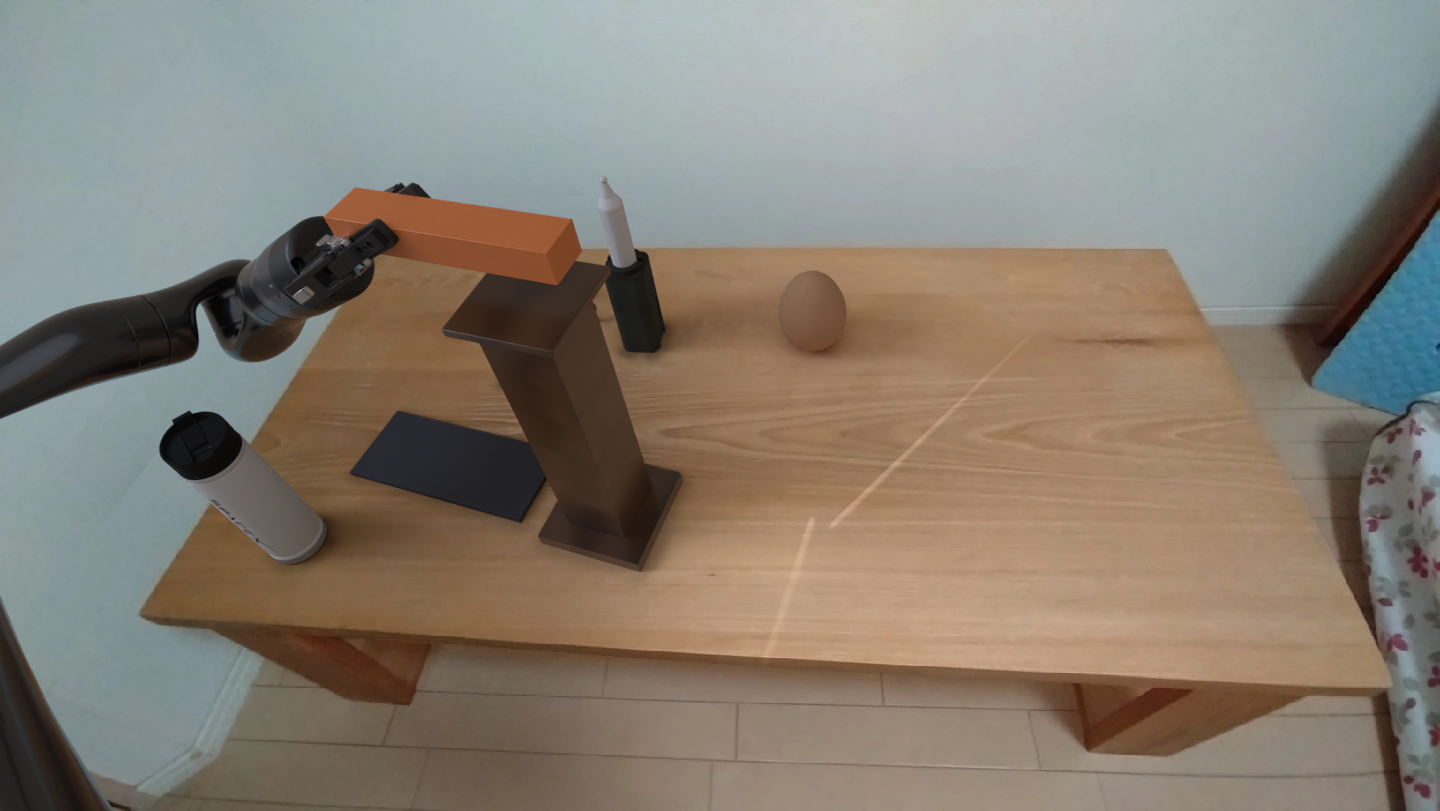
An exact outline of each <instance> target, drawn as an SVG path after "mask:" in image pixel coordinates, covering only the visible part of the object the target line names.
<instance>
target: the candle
mask: <svg viewBox="0 0 1440 811" xmlns="http://www.w3.org/2000/svg"><path fill="white" fill-rule="evenodd" d="M599 182H600V194H599V196H598V197H599V198H598V199H597V202H596V208H597V211H598V215H599V219H600V223H601V227H602V230H603V234H604V237H605V240H606V245H607V248H608V252H609V255H608V256H606V259H607V260H605V264H604V265H605V266H609V268H610V272H611V274H610V275H609V277H608V278H607V280H606V281H605V283H604V285H605V287H606V292H607V294H608V299H609V301H610V305H611V307H612V311H613V314H614V318H615V322H616V325H617V328H618V332H619V335H620V338H621V342H622V345H623V349H624V350H625V351H626V352H631V353H656V352H658V351H659V350H660V349H661V347H662V340H663V337H664V333H666V326H665V322H664V317H663V313H662V310H661V309H662V308H661V305H660V300H659V295H658V290H657V288H656V283H655V279H654V278H655V277H654V273H653V269H652V264H651V260H650V257H649V254H648V253H647V252H646V251H643V250H639V249H637V248H635V247H634V243H633V238H632V235H631V231H630V227H629V223H628V218H627V214H626V210H625V206H624V202H623V198H622V197H621V196H620V195H618V194H617V193H616V192H614V190H613V188H612V187H611V185H610V184H609V183H608V178H607V176H605V175H601V176H600V177H599Z"/></svg>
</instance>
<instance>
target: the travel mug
mask: <svg viewBox="0 0 1440 811" xmlns="http://www.w3.org/2000/svg"><path fill="white" fill-rule="evenodd" d="M171 421H172V425H170V426H169V428H168V429H167V430H166V431H165V432H164V433H163V435H162V437H161V439H160V441H159V446H158V452H159V456H160V458H161V459H162V461H163V462H164V463H165V464H167V465H168V466H169V467H170V468H171V469H173V470H174V471H175V472H176V473H177V475H179V476H180V477H181V478H182V479H183V480H184V481H185V482H186V483H187V484H188V485H190V486H191V488H193V489H194V490H195V491H196V492H198V493H199V495H200V496H202V497H203V498H204V499H205V500H206V501H207V502H209V503H210V504H211V505H212V506H213V507H215V508H216V509H217V510H218V511H219V512H220V513H221V514H223V515H224V516H225V517H226V518H227V519H228V520H229V521H230V522H232V523H233V524H234V525H235V526H236V527H237V528H238V529H240V531H242V532H243V533H244V534H245V535H246V536H247V537H248V538H250V539H251V540H252V541H253V542H254V543H255V544H257V545H258V546H259V547H260V548H261V549H262V550H263V551H265V552H266V553H267V554H268V555H269V556H270V557H271V558H272V559H273V560H275V561H276V562H277V563H279V564H282V565H295V564H299V563H302V562H305V561H306V560H308V559H309V558H311V557H312V556H313V555H315V554H316V553H317V552H318V551H319V550H320V549H321V548H322V547H323V545H324V542H325V540H326V537H327V533H328V528H327V524H326V522H325V521H324V520H323V519H322V518H321V517H320V515H318V514H317V513H316V512H315V511H314V509H313V508H312V507H311V506H310V504H308V503H307V502H306V501H305V500H304V499H303V498H302V497H301V496H300V494H298V493H297V492H296V491H295V490H294V488H293V487H291V485H289V483H288V482H287V481H286V480H285V478H283V477H282V476H281V475H280V474H279V473H278V472H277V471H276V470H275V469H274V468H273V467H272V466H271V465H270V464H269V463H268V461H267V460H266V459H264V457H263V456H262V455H261V454H260V453H259V452H258V451H257V450H256V449H255V448H254V447H253V446H252V445H251V444H250V442H248V441H247V440H246V439H245V438H244V437H243V436H242V435H241V433H239V432H238V431H237V430H235V428H234V427H233V426H232V425H231V424H230V423H229V422H228V421H227V420H226V418H224V416H222V415H221V414H220V413H217V412H214V411H209V410H208V411H207V410H206V411H196V412H194V413H193V412H192V411H191V410H186V411H185V412H183V413H182V414H180V415H178V416H176V417H174V418H173V419H171Z"/></svg>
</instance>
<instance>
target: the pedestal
mask: <svg viewBox="0 0 1440 811" xmlns="http://www.w3.org/2000/svg"><path fill="white" fill-rule="evenodd" d="M610 274H611V272H610V268H609V266H605V264H599V263H592V262H587V261H580V260H576V261H575V262H574V263H573V265H572V266H571V268H570V269H569V270H568V272H567V273H566V275H565V276H564V277H563V279H562V280H561V282H560V283H559V284H558V285H552V284H546V283H541V282H535V281H529V280H524V279H518V278H512V277H507V276H501V275H496V274H490V273H485V274H484V275H483V277H482V278H481V279H480V281H479V282H478V283H477V284H476V285H475V286H474V288H473V289H472V290H471V292H470V293H468V295H467V297H466V298H464V301H463V302H462V303H461V304H460V305H459V306H458V308H457V309H456V310H455V312H454V313H453V314H452V315H451V316H450V318H449V319H448V320H447V322H446V323H445V324H444V325H443V326H442V328H441V332H442V333H443V335H444V337H446V338H451V339H457V340H461V341H466V342H470V343H475V344H479V346H480V347H481V350H482V352H483V354H484V356H485V358H486V360H487V362H488V364H489V366H490V368H491V371H492V372H493V375H494V376H495V377H496V380H497V382H498V384H499V386H500V388H501V390H502V392H503V394H504V396H505V398H506V400H507V402H508V404H509V406H510V408H511V410H512V412H513V414H514V416H515V418H516V420H517V422H518V425H519V426H520V428H521V430H522V432H523V434H524V436H525V438H526V440H527V443H529V444H530V446H531V448H532V450H533V452H534V454H535V456H536V458H537V460H538V462H539V464H540V466H541V468H542V470H543V472H544V474H545V476H546V478H547V479H546V481H547V482H548V484H549V486H550V488H551V490H552V492H553V494H554V496H555V498H556V502H555V504H554V506H553V508H552V510H551V512H550V513H549V515H548V516H547V518H546V520H545V522H544V524H543V526H542V527H541V529H540V531H539V533H538V534H537V538H538V539H539V541H540V543H541V544H543V545H546V546H550V547H553V548H557V549H560V550H563V551H567V552H571V553H574V554H577V555H579V556H583V557H587V558H591V559H595V560H598V561H601V562H605V563H607V564H612V565H615V566H618V567H622V568H626V569H629V570H632V571H636V572H639V573H641V572H642V571H643V568H644V566H645V564H646V562H647V559H648V557H649V555H650V553H651V550H652V549H653V547H654V544H655V542H656V540H657V538H658V536H659V533H660V531H661V529H662V527H663V524H664V523H665V521H666V518H667V516H668V514H669V511H670V510H671V508H672V505H673V503H674V501H675V499H676V497H677V495H678V492H679V491H680V488H681V486H682V484H683V482H684V479H683V476H682V472H680V471H677V470H672V469H668V468H664V467H660V466H656V465H652V464H648V463H645V460H644V457H643V453H642V450H641V446H640V443H639V441H638V438H637V434H636V432H635V428H634V425H633V422H632V419H631V416H630V413H629V410H628V407H627V404H626V400H625V397H624V393H623V391H622V388H621V384H620V381H619V378H618V375H617V372H616V369H615V365H614V363H613V359H612V357H611V353H610V350H609V347H608V343H607V340H606V337H605V334H604V332H603V331H604V330H603V328H602V325H601V322H600V319H599V316H598V313H597V311H596V309H595V306H594V304H595V303H594V300H595V298H596V296H597V295H598V294H599V292H600V290H601V289H602V287H603V286H604V285H605V281H606V280H607V278H608V277H609V275H610Z"/></svg>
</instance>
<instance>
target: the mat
mask: <svg viewBox="0 0 1440 811" xmlns="http://www.w3.org/2000/svg"><path fill="white" fill-rule="evenodd" d="M349 474H350V475H351V476H354V477H358V478H361V479H365V480H369V481H371V482H375V483H379V484H382V485H386V486H389V487H393V488H396V489H399V490H403V491H406V492H410V493H414V494H418V495H421V496H425V497H427V498H432V499H435V500H439V501H442V502H445V503H449V504H453V505H456V506H458V507H459V506H460V507H462V508H466V509H470V510H473V511H477V512H481V513H483V514H484V513H485V514H488V515H491V516H494V517H498V518H501V519H506V520H509V521H513V522H516V523H519V524H521V523H522V521H523V520H524V518H525V516H526V515H527V513H528V511H529V510H530V508H531V506H533V503H534V501H535V499H536V498H537V496H538V494H539V493H540V491H541V490H542V488H543V486H544V484H545V483H546V481H547V478H546V476H545V474H544V472H543V470H542V468H541V466H540V464H539V462H538V460H537V458H536V456H535V454H534V452H533V450H532V448H531V446H530V444H529V442H528V441H523V440H518V439H514V438H510V437H506V436H503V435H499V434H495V433H490V432H487V431H482V430H478V429H474V428H471V427H465V426H462V425H458V424H454V423H450V422H446V421H443V420H438V419H433V418H429V417H426V416H421V415H418V414H413V413H410V412H405V411H401V410H397V411H395V413H394V415H393V416H392V417H391V418H390V419H389V421H388V422H387V423H386V424H385V426H384V427H383V429H382V430H381V431H380V432H379V434H378V435H377V436H376V437H375V439H374V440H373V441H372V443H371V444H370V445H369V447H368V448H367V449H366V450H365V451H364V453H363V454H362V455H361V457H360V458H359V459H358V461H357V462H356V463H355V464H354V466H353V467H352V468H351V470H349Z"/></svg>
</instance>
